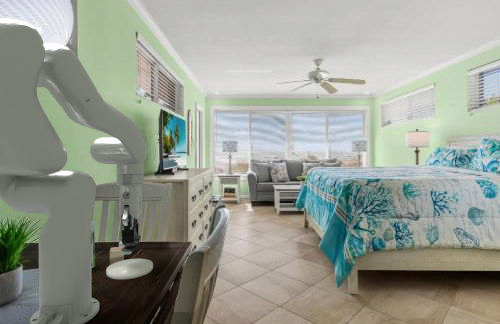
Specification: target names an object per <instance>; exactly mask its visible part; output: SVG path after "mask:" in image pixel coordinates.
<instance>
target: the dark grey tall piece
mask: <svg viewBox="0 0 500 324" xmlns="http://www.w3.org/2000/svg"><path fill="white" fill-rule="evenodd" d="M128 218H132V217H128ZM128 222H130V224H131V221H128ZM136 225H137V224H136V219H135V218H134V220H133V229H134V242H133V243H122V244H123V245H124V246H125V247H123V248H122V249H121V251H124V252H132V253H133V252H137V251H138V250H140V249H141V246H139V245H138V244H139V243H140V240H141V239H142V238H141V237H142V236H141V234H139V235H138V234H137V233H136ZM119 240H120V241H121V242H122V236H120V238H119Z"/></svg>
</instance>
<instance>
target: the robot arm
mask: <svg viewBox="0 0 500 324" xmlns="http://www.w3.org/2000/svg"><path fill="white" fill-rule="evenodd" d="M38 88H45V89H46V90H47V91H48V92H49V94H50V95H51V96H52V97H53V98H54V100H55V101H56V102H57V104H58V105H59V106H60V107H61V109H62V110H63V112H64V113H65V114H66V116H67V118H69V119H70V120H71V121H72V122H74V123H75V124H78V125H81V126H83V127H86V128H89V129H92V130H96V131H98V132H102V133H104V134H107V135H109V136H102V137H101V136H100V137H98V138H96V139H95V140H93V141H92V142H91V145H90V148H89V153H90V155H91V156H90V157H92V159H93V160H94V161H95V162H97V163H100V164H103V165H116V186H118V187H119V201H118V202H119V203H118V204H119V205H118V206H119V209H118V210H119V211H118V212H119V213H118V214H119V219H120V220H121V222H122V223H121V225H122V226H121V237H122V243H133V242H134V229H133V220H134V218H135V219H136V224H137V225H136V233H137V234H138V235H140V234H139V230H140V229H139V225H140V224H139V218H140V217H141V216H142V214H143V192H142V190H143V189H142V185H144V183H145V181H144V175H145V172H144V171H145V170H144V167H145V166H144V161H145V159H147V156H148V146H147V142H146V140H145V138H144V136H143V134H142V132H141V130H140V128H139V127H138V125H137V124H136V123H135V122H134V120H132V119H131V118H130V117H129V116H127V115H126V114H124V113H123V112H121V111H120V110H119V109H117V108H116V107H114V106H113V105H111V104H109V103H107V102H106V101H105V100H104V99H103V97H102V95H101V93H100V91H99V89H98V88H97V87H96V86H95V84H94V82H93V80H92V78H91V77H90V75H89V73H88V72H87V71H86V68H85V67H84V66H83V63H82V62H81V61H80V58H79V56H77V54H76V53H75V51H73V50H72V49H71V48H70V47H68V46H65V45H62V44H58V43H44V40H43V37H42V36H41V34H40V32H39V31H38V30H37V29H36V28H35V27H34V26H33V25H32V24H30V23H28V22H25V21H24V20H18V19H16V18H15V19H13V18H0V199H1V201H2V202H3V203H4V204H5V205H7V206H8V207H9V208H10V209H12V210H14V211H16V212H19V213H25V214H26V213H27V214H43V215H48V217H47V219H46V221H45V223H44V225H42V228H41V230H40V233H39V236H38V304H39V305H38V307H39V308H38V310H36V311H35V312H34V313H33V314H32V315H31V316H30V319H29V324H85V323H87V322H89V321H90V320H92V319H93V318H94V317H95V316H96V315H98V313H99V312H100V302H99V300H98V299H96V298H94V297H92V268H91V223H92V221H93V214H94V213H93V211H94V206H95V203H96V199H97V198H96V197H97V185H96V182H95V181H96V180H94V179H93V177H92V176H91V175H90V174H88V173H86V172H84V171H81V170H77V169H67V168H66V169H64V168H65V166H66V165H67V162H68V153H67V150H66V147H65V144H64V143H63V141H62V138H61V137H60V136H59V134H58V132H57V131H56V130H55V128H54V125H52V122H51V121H50V119H49V118H48V116H47V114H46V112H45V111H44V108H43V106H42V104H41V103H40V100H39V98H38V91H37V89H38ZM128 217H132V218H128ZM128 221H131V224H130V222H128Z"/></svg>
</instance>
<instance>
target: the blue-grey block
mask: <svg viewBox="0 0 500 324" xmlns="http://www.w3.org/2000/svg"><path fill="white" fill-rule="evenodd" d="M118 247H125V246H124V245H123V244H122V242H121V240H120V241H119V243H118ZM132 253H133V251H132V252H124V256H125V255H131V254H132Z"/></svg>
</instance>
